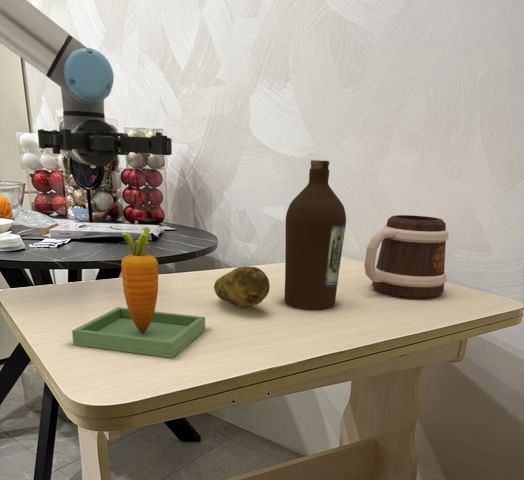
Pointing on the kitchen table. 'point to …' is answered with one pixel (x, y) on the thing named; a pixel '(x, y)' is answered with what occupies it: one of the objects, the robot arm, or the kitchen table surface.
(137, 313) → the carrot
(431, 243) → the mug
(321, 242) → the olive oil
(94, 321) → the green tray
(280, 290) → the kitchen table surface
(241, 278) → the potato
